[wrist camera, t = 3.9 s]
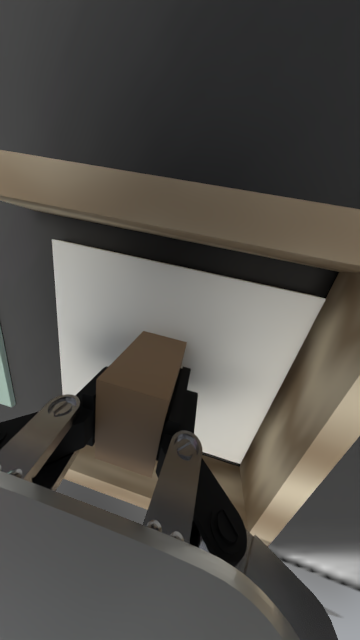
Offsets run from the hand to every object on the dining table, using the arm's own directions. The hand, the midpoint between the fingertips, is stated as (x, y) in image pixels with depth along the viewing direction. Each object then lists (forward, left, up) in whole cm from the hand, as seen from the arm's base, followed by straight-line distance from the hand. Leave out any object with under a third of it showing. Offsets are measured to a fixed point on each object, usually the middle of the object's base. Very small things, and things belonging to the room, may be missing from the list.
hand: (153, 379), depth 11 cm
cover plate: (0, 0, -2) cm, 2 cm away
